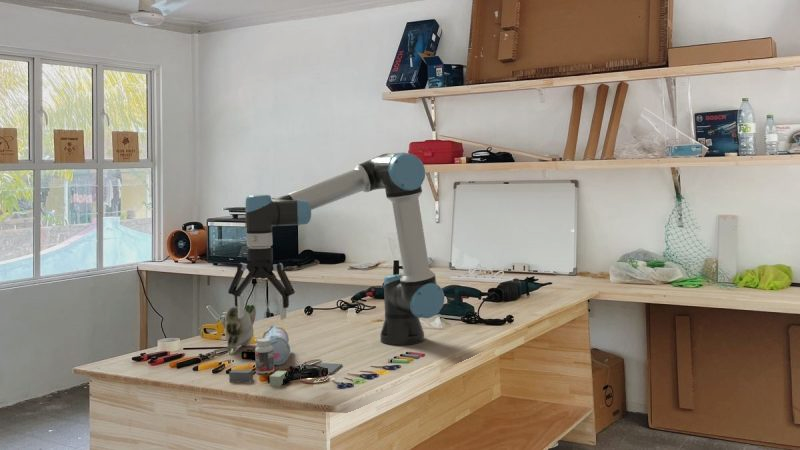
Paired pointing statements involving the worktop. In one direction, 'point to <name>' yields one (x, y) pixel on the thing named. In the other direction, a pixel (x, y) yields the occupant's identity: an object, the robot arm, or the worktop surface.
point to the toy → (239, 326)
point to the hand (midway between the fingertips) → (262, 318)
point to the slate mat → (330, 367)
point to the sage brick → (277, 378)
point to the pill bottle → (264, 356)
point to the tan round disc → (312, 380)
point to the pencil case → (278, 343)
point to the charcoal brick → (241, 375)
